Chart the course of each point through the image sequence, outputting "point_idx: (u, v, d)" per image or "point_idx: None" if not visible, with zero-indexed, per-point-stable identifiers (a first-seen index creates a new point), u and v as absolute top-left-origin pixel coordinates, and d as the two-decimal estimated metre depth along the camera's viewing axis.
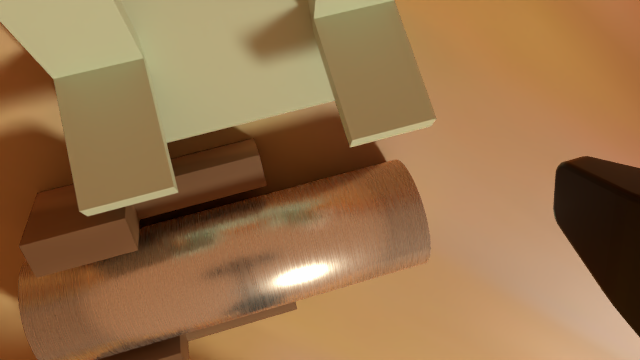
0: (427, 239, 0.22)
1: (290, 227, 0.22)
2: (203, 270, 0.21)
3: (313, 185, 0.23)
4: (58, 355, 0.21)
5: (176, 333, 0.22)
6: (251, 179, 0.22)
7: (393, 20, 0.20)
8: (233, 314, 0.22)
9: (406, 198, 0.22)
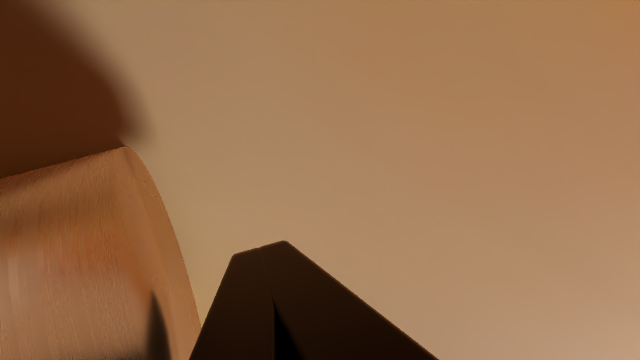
0: None
1: None
2: None
3: None
4: None
5: None
6: None
7: None
8: None
9: (76, 305, 0.06)
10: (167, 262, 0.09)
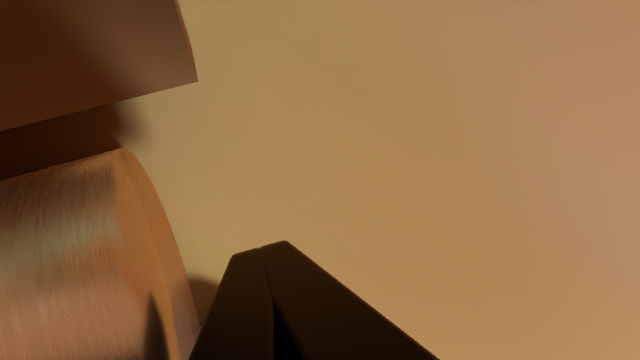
0: None
1: None
2: None
3: None
4: None
5: None
6: (146, 57, 0.07)
7: None
8: None
9: (73, 307, 0.06)
10: (165, 264, 0.09)
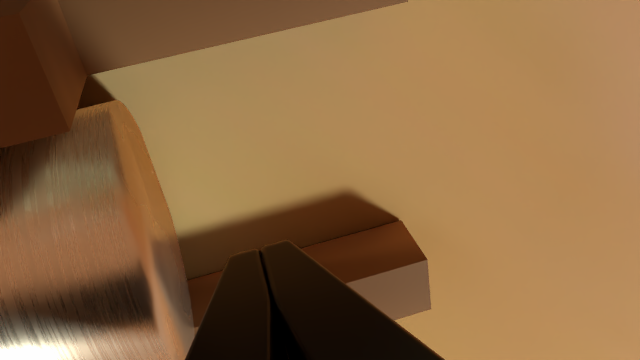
0: (145, 324, 0.07)
1: None
2: None
3: None
4: None
5: None
6: None
7: None
8: None
9: (74, 203, 0.07)
10: (155, 206, 0.10)
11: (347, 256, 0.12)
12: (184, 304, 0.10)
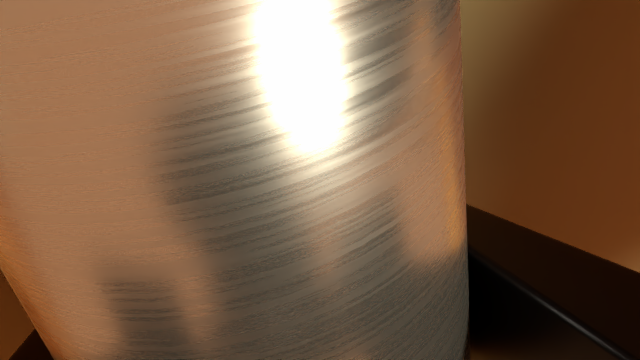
0: None
1: (32, 303, 0.04)
2: None
3: None
4: None
5: None
6: None
7: None
8: None
9: None
10: None
11: None
12: None
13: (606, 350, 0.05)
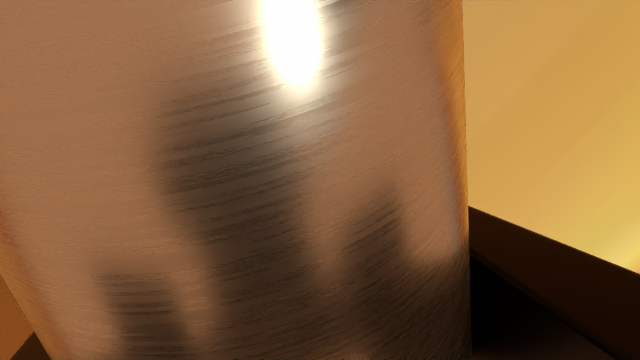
0: None
1: (26, 297, 0.04)
2: None
3: None
4: None
5: None
6: None
7: None
8: None
9: None
10: None
11: None
12: None
13: (605, 351, 0.05)
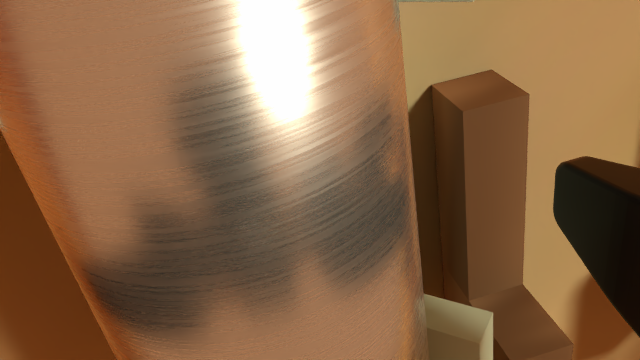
0: None
1: (53, 203, 0.06)
2: None
3: None
4: None
5: None
6: (507, 123, 0.12)
7: None
8: None
9: None
10: None
11: None
12: None
13: None
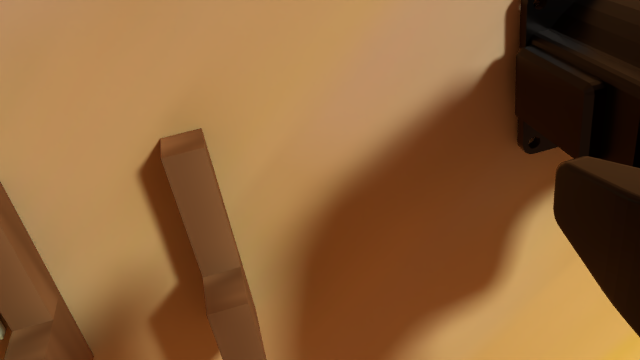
0: None
1: None
2: None
3: None
4: None
5: None
6: None
7: None
8: None
9: None
10: None
11: None
12: None
13: None
